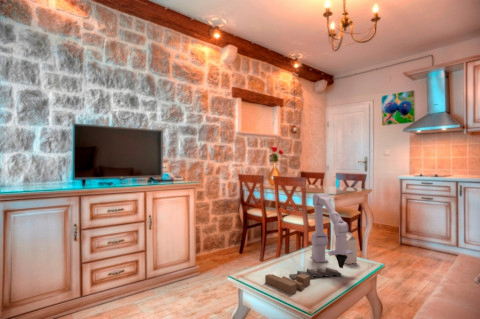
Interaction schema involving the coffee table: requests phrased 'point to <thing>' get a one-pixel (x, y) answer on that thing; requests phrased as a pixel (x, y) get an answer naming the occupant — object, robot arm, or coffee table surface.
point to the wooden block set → (288, 282)
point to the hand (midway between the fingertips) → (340, 267)
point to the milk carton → (351, 248)
